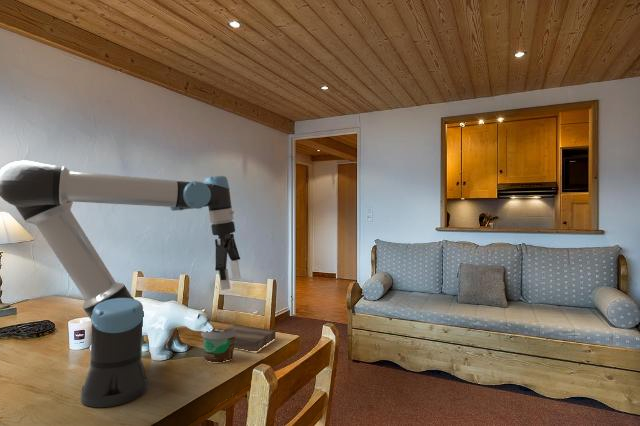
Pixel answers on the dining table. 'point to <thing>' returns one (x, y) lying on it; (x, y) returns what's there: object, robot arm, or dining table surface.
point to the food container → (218, 344)
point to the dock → (251, 337)
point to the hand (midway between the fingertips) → (231, 283)
